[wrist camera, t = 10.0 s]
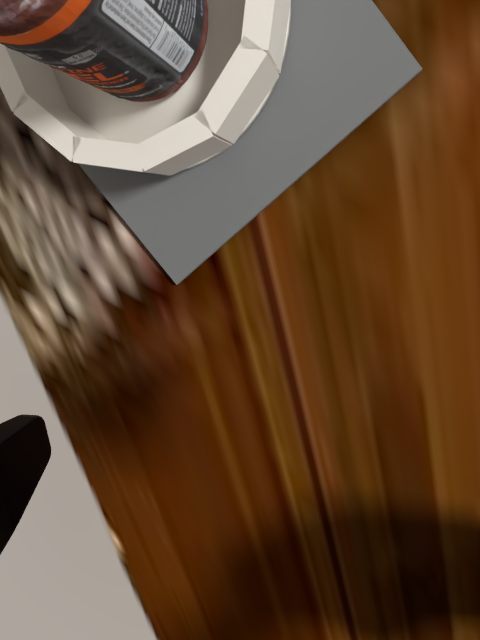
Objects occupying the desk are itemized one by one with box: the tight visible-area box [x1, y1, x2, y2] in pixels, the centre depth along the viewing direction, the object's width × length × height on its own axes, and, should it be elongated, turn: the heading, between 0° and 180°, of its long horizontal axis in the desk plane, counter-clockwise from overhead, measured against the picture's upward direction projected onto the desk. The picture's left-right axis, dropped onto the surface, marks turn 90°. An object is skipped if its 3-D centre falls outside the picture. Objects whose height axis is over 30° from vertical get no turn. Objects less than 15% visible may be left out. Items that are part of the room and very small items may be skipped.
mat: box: [78, 0, 422, 285], centre depth 18 cm, size 18×14×1 cm
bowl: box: [0, 0, 292, 176], centre depth 16 cm, size 12×12×4 cm
